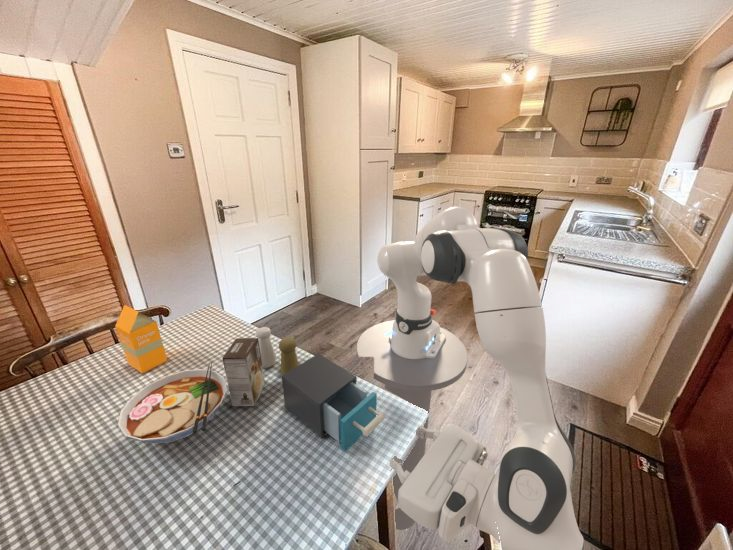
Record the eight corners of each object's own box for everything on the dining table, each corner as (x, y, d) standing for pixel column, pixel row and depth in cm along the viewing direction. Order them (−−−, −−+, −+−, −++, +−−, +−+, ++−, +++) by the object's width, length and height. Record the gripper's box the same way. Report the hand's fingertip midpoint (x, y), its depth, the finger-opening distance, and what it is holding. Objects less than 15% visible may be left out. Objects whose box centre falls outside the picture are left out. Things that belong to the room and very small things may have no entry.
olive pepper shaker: (277, 375, 93) (273, 345, 89) (285, 362, 99) (281, 334, 95) (295, 377, 92) (292, 347, 88) (302, 364, 98) (300, 335, 94)
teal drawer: (390, 431, 74) (392, 403, 70) (359, 464, 65) (359, 434, 62) (338, 395, 84) (337, 369, 81) (306, 420, 76) (304, 392, 73)
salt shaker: (255, 369, 96) (249, 334, 91) (261, 358, 101) (256, 324, 96) (273, 369, 95) (269, 334, 91) (279, 358, 101) (275, 324, 96)
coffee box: (244, 383, 90) (236, 337, 84) (265, 383, 90) (259, 337, 84) (231, 407, 81) (221, 357, 75) (255, 407, 81) (247, 357, 75)
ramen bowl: (145, 397, 84) (137, 374, 81) (234, 379, 91) (229, 357, 88) (107, 483, 62) (94, 455, 59) (228, 451, 69) (222, 424, 66)
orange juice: (142, 373, 93) (123, 316, 86) (127, 364, 97) (108, 309, 90) (168, 360, 100) (152, 306, 92) (153, 351, 104) (138, 299, 96)
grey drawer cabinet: (356, 407, 81) (356, 376, 78) (321, 438, 72) (319, 404, 69) (320, 383, 90) (318, 353, 86) (285, 407, 81) (281, 376, 77)
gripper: (493, 438, 60) (431, 403, 68) (446, 526, 46) (375, 469, 54) (488, 460, 62) (429, 424, 71) (442, 551, 48) (374, 492, 56)
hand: (405, 444), depth 62 cm, fingers open, 8 cm apart
